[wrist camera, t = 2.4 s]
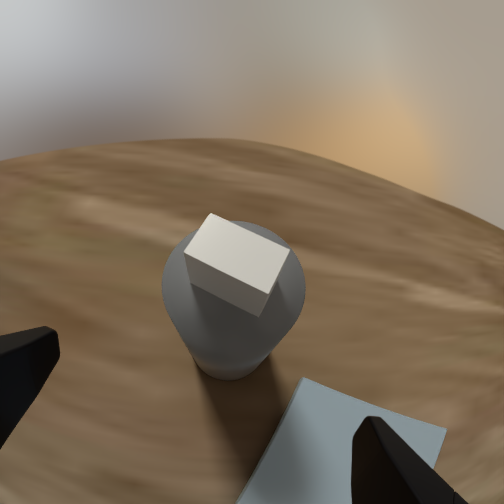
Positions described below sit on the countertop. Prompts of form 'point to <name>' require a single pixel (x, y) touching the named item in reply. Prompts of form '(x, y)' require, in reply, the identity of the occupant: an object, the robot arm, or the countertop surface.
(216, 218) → the grey tall rounded piece
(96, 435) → the countertop surface
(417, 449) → the coaster
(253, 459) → the countertop surface
